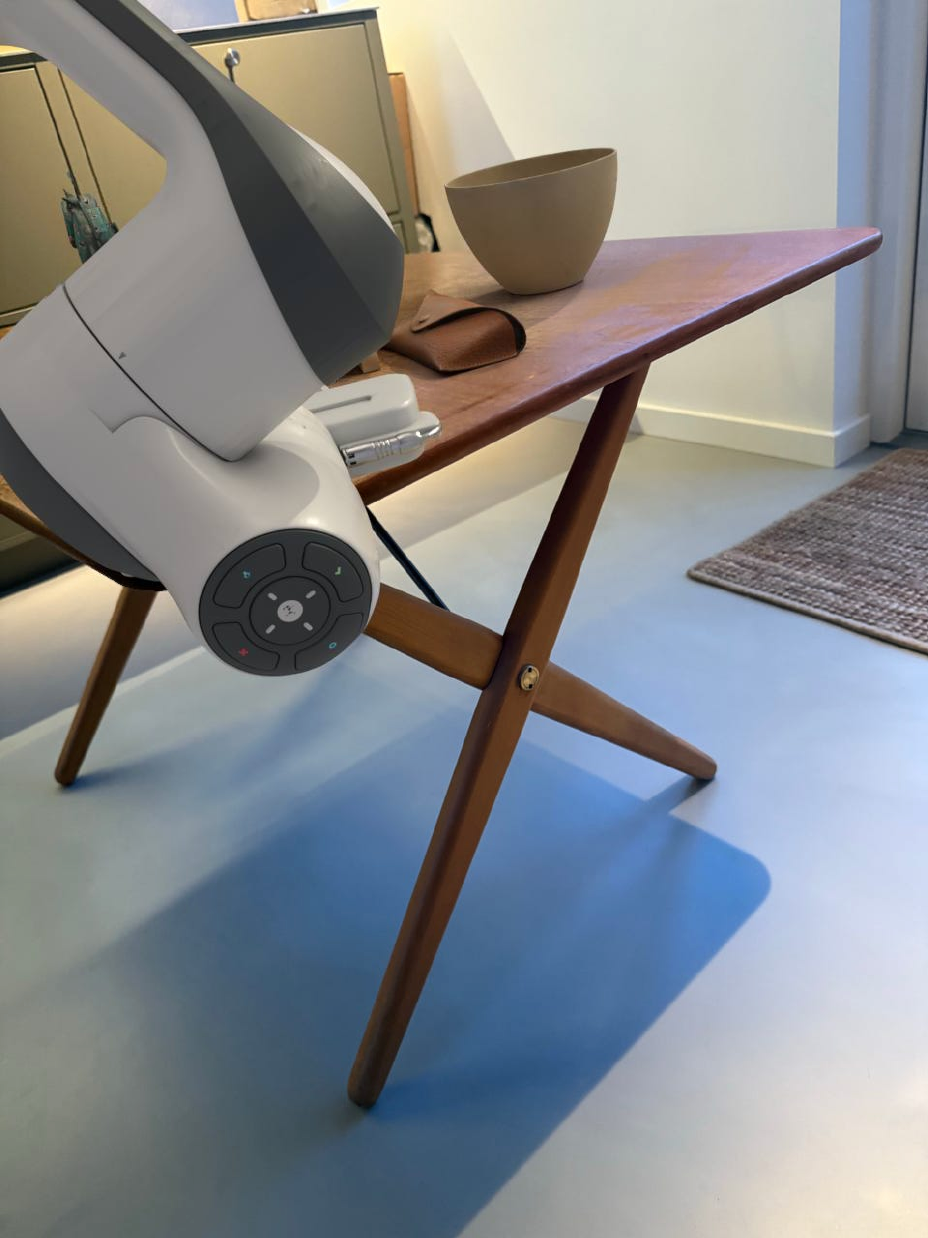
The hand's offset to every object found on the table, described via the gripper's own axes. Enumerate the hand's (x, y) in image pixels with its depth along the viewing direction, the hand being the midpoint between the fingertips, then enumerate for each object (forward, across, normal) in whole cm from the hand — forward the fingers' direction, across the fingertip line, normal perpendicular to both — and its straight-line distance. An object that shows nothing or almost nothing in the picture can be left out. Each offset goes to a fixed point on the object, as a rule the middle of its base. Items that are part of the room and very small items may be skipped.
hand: (248, 416), depth 65 cm
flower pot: (+43, -34, +6) cm, 55 cm away
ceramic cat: (+82, +14, +6) cm, 83 cm away
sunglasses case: (+26, -19, +6) cm, 32 cm away
